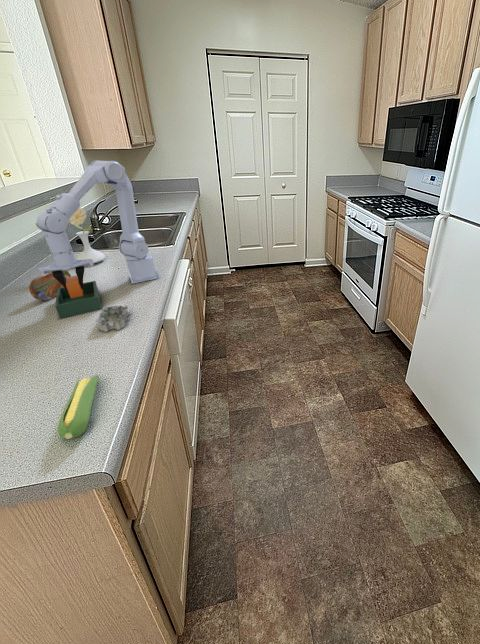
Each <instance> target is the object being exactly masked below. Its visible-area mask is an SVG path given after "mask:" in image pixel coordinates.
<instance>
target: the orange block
mask: <svg viewBox="0 0 480 644" xmlns="http://www.w3.org/2000/svg"><path fill="white" fill-rule="evenodd" d="M66 287H67V289H68V292H69V295H70V297H71V298H76V297H80V296H83V289H81V286H80V282H79V279H78V277H77V275H71V277H66Z"/></svg>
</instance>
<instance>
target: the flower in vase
mask: <svg viewBox="0 0 480 644" xmlns="http://www.w3.org/2000/svg"><path fill="white" fill-rule="evenodd" d="M87 216H88V215H87V212H86V210H85V209H84V208H81V207H79V208H78V209H77V211H76V212H75V213H74V214H73V215H72V216H71V218H70V219H69V220H68V221H69V223H70V224H71V225H73V226H74V227H76V228H78V229H80V230H81V231H78V232H76V233H75V235H76V236H78V237H79V239H80V240H81V242H82V245H83V250H82V252H81V253H80V254H79V255H78V256H77V258H76V260H86V259H92V261H93V264H97V263H100V262H102V261H104V260H105V258H106V255H105V254H104V253H103V252H100V251H98V250H97V249H94V248H93V247H91V245H90V241H89V234H90V231H92V230H93V228H92V227H91V226H90V224H86V223H85V221H86V219H87ZM80 225H83V227H82V226H80Z"/></svg>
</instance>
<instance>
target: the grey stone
mask: <svg viewBox="0 0 480 644" xmlns="http://www.w3.org/2000/svg"><path fill="white" fill-rule="evenodd" d="M128 310H129V307H128V305H124V306H123V305H114V306H113V305H110V306H106V305H105V306H103V307H102V310H101V311H100V313H99V315H98V317H97V318H96V319H95V323H96V325H97V326H99V329H100V331H103V332H105V333H107V332H109V331H111V330H113V329H115V330H117V331H119V330H121V329H123V328H125V327H126V322H128V317H129V316H130V315H129V312H128Z"/></svg>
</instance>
